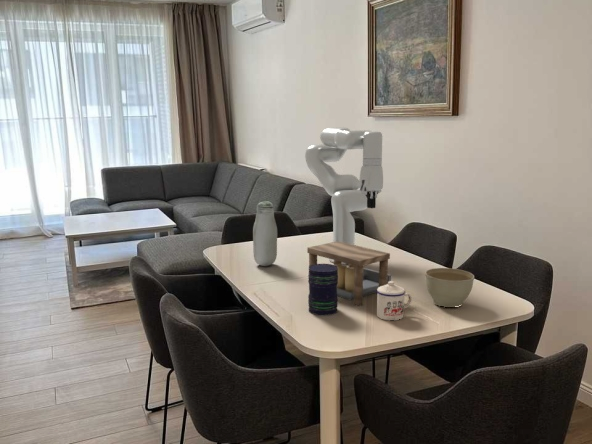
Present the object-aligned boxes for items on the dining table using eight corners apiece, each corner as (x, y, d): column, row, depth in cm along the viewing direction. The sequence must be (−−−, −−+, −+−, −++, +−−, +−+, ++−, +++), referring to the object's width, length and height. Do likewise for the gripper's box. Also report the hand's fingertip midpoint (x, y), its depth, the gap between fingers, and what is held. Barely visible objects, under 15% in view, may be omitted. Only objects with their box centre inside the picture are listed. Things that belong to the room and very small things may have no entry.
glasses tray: (364, 280, 224) (365, 255, 223) (390, 287, 215) (391, 262, 213) (325, 291, 210) (325, 265, 208) (351, 300, 201) (351, 272, 199)
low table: (337, 280, 224) (337, 241, 221) (388, 296, 205) (389, 253, 202) (307, 288, 214) (307, 247, 210) (358, 306, 194) (359, 261, 191)
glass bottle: (263, 269, 240) (263, 204, 234) (249, 264, 247) (248, 201, 242) (281, 265, 246) (281, 201, 241) (267, 261, 254) (266, 199, 248)
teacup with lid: (383, 322, 179) (384, 287, 177) (371, 313, 188) (372, 279, 186) (417, 318, 183) (418, 283, 180) (404, 309, 191) (405, 276, 189)
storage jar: (315, 317, 184) (316, 272, 181) (303, 308, 193) (303, 265, 190) (342, 313, 188) (343, 269, 185) (329, 304, 197) (329, 262, 194)
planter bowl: (464, 315, 185) (466, 283, 183) (417, 306, 194) (418, 276, 192) (477, 301, 199) (479, 271, 197) (433, 294, 207) (434, 265, 205)
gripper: (377, 161, 235) (376, 204, 239) (352, 163, 225) (351, 208, 229) (391, 162, 230) (390, 206, 233) (366, 164, 220) (365, 211, 223)
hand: (371, 207), depth 231 cm, fingers closed
